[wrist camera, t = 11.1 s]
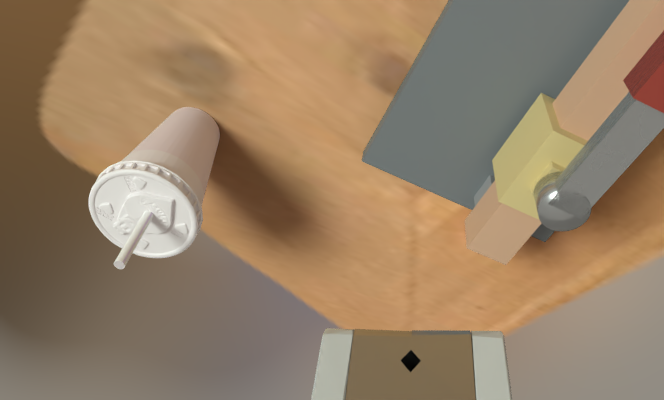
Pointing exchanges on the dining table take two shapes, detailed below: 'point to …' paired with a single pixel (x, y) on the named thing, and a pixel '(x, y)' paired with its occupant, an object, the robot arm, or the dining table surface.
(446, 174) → the board
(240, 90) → the dining table surface
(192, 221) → the smoothie
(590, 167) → the lever
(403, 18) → the dining table surface
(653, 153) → the dining table surface
